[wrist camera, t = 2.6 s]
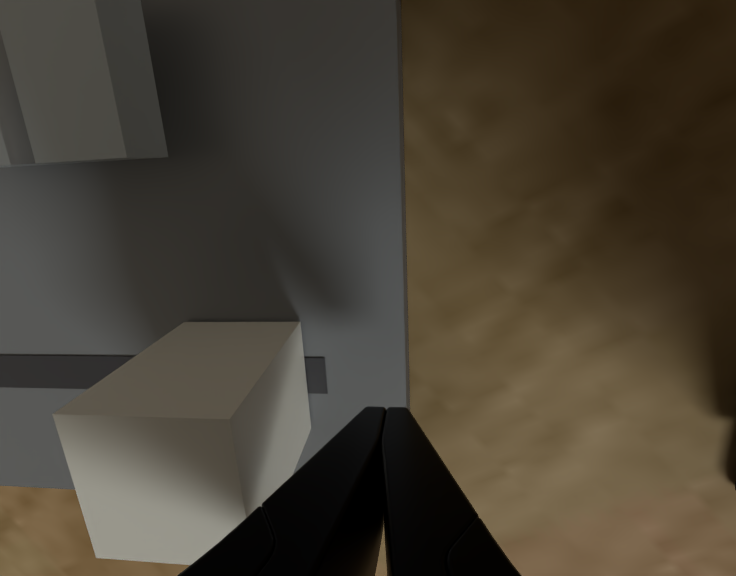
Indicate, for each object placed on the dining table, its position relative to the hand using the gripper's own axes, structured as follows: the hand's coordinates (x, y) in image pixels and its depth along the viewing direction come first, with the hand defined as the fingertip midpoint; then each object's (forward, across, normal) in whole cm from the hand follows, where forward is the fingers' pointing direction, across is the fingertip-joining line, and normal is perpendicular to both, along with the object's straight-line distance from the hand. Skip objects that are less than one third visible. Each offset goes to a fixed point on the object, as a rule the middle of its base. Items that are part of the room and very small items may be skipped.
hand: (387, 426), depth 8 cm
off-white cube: (+2, +4, 0) cm, 4 cm away
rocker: (+1, +7, -7) cm, 10 cm away
